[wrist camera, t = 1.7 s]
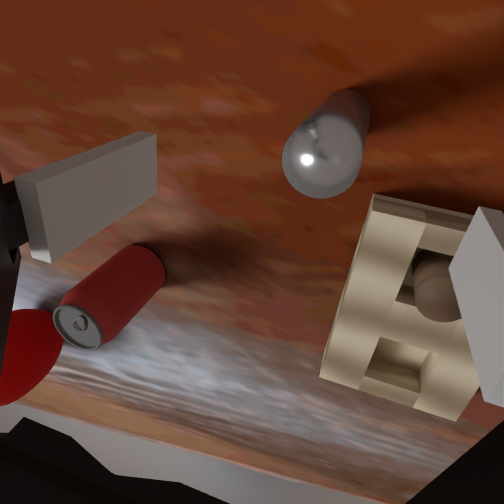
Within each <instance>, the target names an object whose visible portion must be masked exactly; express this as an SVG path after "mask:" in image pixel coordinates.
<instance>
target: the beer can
mask: <svg viewBox="0 0 504 504" xmlns="http://www.w3.org/2000/svg"><path fill="white" fill-rule="evenodd" d="M164 281H165V269H164V267H163V264H162V262H161V261H160V259H159V258H158V257H157V256H156V255H155V254H154V253H153V252H152V251H150V250H149V249H147V248H145V247H142V246H138V245H131V246H126V247H125V248H123V249H121V250H120V251H119V252H117V253H116V254H115V255H114V256H112V257H111V258H110V259H109V260H107V261H106V262H105V263H104V264H102V265H101V266H100V267H98V268H97V269H96V270H95V271H93V272H92V273H91V274H90V275H88V276H87V277H86V278H85V279H83V280H82V281H81V282H79V283H78V284H77V285H76V286H74V287H73V288H72V289H71V290H69V291H68V292H67V294H66V295H65V296H64V298H63V299H62V301H61V303H60V305H59V306H58V307H57V308H56V309H55V310H54V312H53V321H54V325H55V327H56V329H57V330H58V332H59V333H60V334H61V336H62V337H63V338H64V339H65V340H66V341H68V342H69V343H70V344H72V345H74V346H75V347H77V348H80V349H83V350H95V349H98V348H99V347H100V346H101V345H102V344H104V343H107V342H109V341H110V340H112V339H113V338H115V337H116V336H117V335H118V334H119V332H120V331H121V330H122V329H123V328H124V327H125V326H126V325H127V324H128V323H129V321H130V320H131V319H132V318H133V317H134V316H135V315H136V314H137V313H138V312H139V311H140V309H141V308H142V307H143V306H144V305H145V304H146V303H147V302H148V301H149V300H150V298H151V297H152V296H153V295H154V294H155V293H156V292H157V291H158V290H159V289H160V288H161V286H162V285H163V284H164Z"/></svg>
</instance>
